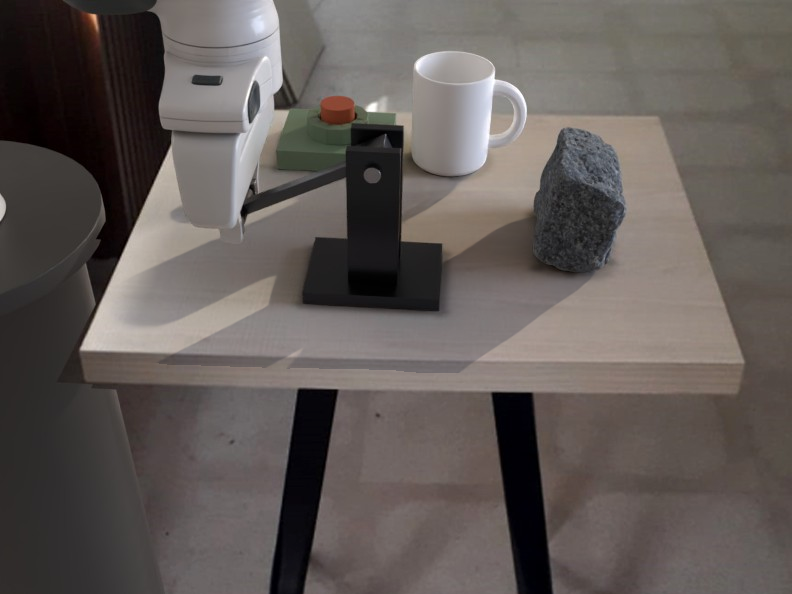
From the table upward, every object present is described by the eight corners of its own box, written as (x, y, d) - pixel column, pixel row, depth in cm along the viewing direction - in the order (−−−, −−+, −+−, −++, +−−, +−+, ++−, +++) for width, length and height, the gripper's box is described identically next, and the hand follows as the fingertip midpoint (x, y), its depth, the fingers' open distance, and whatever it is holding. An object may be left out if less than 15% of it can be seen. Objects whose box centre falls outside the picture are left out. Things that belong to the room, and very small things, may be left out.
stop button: (319, 125, 101) (318, 109, 100) (323, 110, 104) (322, 94, 103) (352, 126, 101) (352, 111, 100) (356, 111, 104) (356, 96, 103)
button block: (277, 169, 101) (274, 134, 99) (291, 126, 109) (289, 92, 106) (389, 174, 101) (390, 139, 98) (396, 131, 108) (396, 97, 106)
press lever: (233, 238, 82) (219, 215, 81) (244, 208, 86) (230, 185, 84) (394, 179, 77) (382, 154, 76) (398, 150, 81) (386, 125, 80)
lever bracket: (302, 303, 84) (294, 160, 75) (315, 247, 90) (309, 109, 81) (439, 311, 83) (447, 168, 74) (442, 254, 90) (450, 116, 81)
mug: (519, 144, 107) (529, 53, 100) (523, 181, 101) (534, 87, 94) (411, 140, 107) (414, 49, 100) (409, 176, 101) (412, 82, 94)
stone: (521, 205, 97) (533, 112, 90) (597, 207, 97) (614, 114, 90) (533, 276, 88) (547, 178, 81) (618, 278, 88) (638, 180, 81)
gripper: (212, 11, 82) (228, 158, 91) (151, 119, 67) (178, 281, 76) (285, 14, 82) (294, 161, 91) (240, 123, 67) (256, 286, 76)
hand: (241, 217), depth 84 cm, fingers open, 5 cm apart
